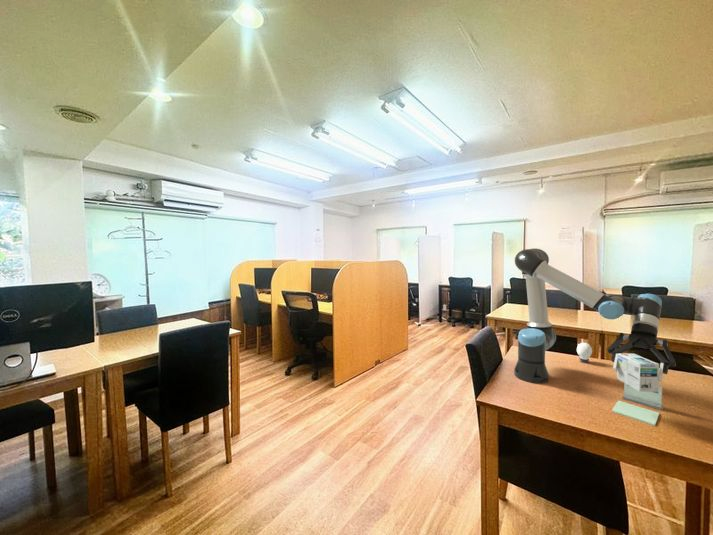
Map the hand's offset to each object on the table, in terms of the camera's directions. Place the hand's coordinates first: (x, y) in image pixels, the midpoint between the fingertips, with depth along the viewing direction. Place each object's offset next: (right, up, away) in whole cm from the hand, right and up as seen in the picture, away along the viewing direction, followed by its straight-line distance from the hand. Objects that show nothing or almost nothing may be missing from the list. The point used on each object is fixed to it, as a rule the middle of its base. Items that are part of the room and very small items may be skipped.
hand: (636, 374), depth 110 cm
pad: (+2, -16, +3) cm, 17 cm away
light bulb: (+20, -12, +51) cm, 56 cm away
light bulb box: (+1, -5, +1) cm, 5 cm away
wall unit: (+11, -15, +9) cm, 21 cm away
